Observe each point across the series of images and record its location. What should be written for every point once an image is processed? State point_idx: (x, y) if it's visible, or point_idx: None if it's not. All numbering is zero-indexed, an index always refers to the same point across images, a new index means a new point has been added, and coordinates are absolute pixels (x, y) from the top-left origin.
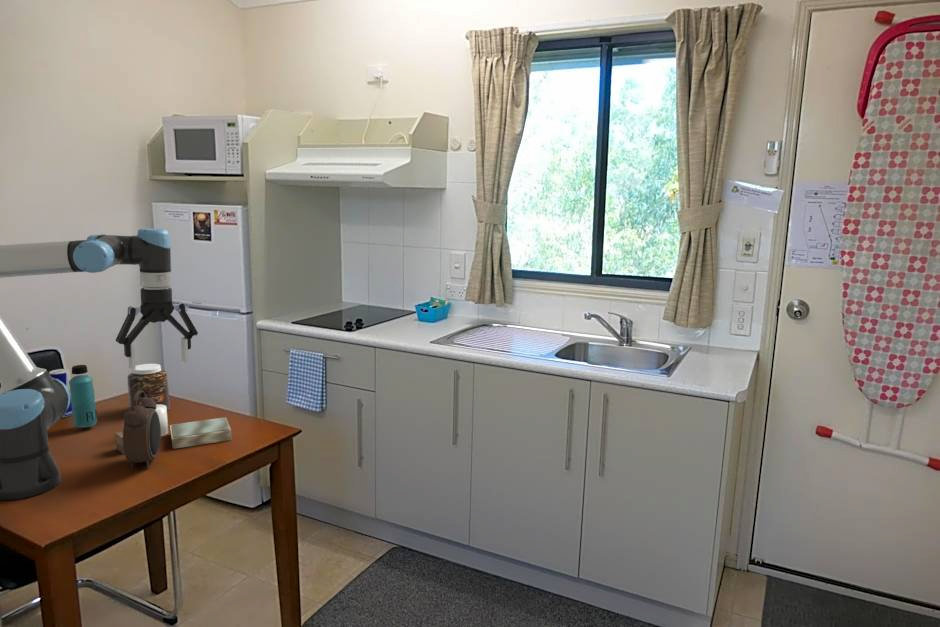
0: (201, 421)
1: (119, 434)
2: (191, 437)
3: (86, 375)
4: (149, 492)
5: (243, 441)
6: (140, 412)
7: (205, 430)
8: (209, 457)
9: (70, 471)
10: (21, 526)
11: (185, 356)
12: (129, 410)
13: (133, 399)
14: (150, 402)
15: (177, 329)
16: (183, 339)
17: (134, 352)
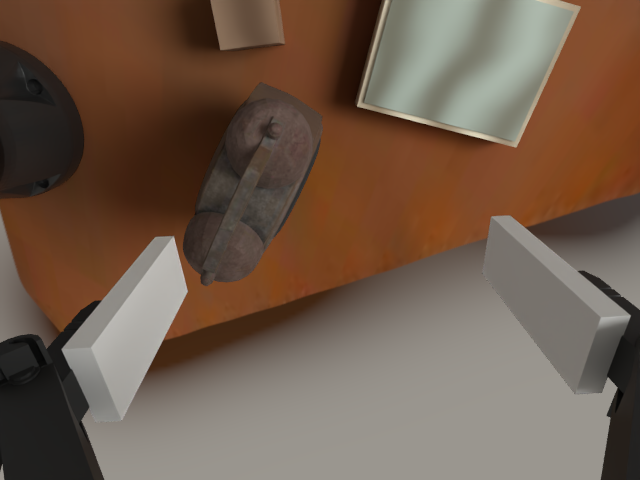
0: (493, 1)
1: (216, 9)
2: (408, 118)
3: None
4: (249, 303)
5: (517, 171)
6: (229, 280)
7: (459, 106)
8: (403, 217)
9: (101, 90)
10: (44, 299)
11: (500, 296)
12: (195, 263)
13: (203, 267)
14: (285, 182)
15: (630, 412)
16: (577, 367)
17: (146, 369)
